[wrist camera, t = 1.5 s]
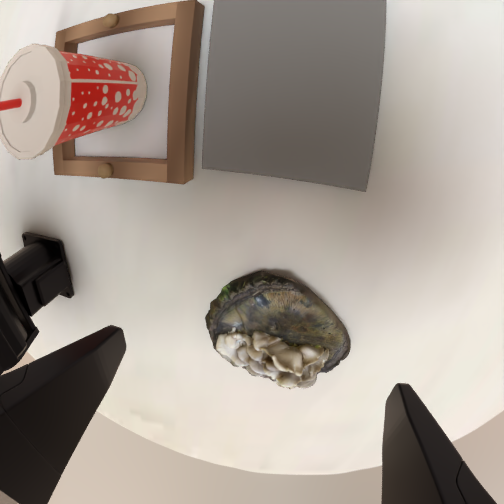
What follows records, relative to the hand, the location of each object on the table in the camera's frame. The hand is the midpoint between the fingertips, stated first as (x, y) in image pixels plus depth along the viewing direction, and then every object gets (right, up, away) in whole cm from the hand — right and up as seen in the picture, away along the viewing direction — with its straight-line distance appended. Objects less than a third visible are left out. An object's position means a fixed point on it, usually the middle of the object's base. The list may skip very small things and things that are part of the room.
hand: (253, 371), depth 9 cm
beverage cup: (-9, +15, +10) cm, 20 cm away
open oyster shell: (+2, -2, +16) cm, 16 cm away
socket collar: (-9, +15, +10) cm, 20 cm away
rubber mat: (+2, +15, +7) cm, 16 cm away
